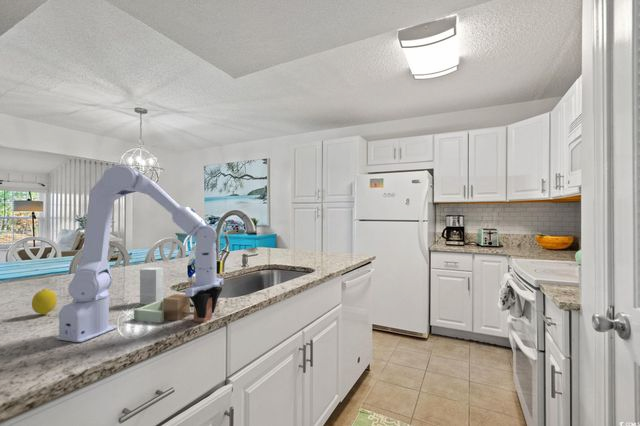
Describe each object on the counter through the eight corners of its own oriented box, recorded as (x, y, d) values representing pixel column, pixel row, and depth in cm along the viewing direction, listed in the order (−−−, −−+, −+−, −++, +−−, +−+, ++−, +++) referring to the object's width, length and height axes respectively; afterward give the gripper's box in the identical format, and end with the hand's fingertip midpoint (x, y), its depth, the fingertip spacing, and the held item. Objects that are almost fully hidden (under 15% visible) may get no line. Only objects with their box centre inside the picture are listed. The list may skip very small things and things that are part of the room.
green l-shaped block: (160, 322, 81) (160, 312, 81) (134, 320, 83) (134, 309, 83) (186, 311, 90) (186, 301, 90) (161, 309, 93) (161, 299, 93)
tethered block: (202, 323, 80) (202, 301, 80) (163, 319, 83) (163, 298, 84) (213, 317, 85) (213, 296, 85) (175, 313, 88) (175, 294, 88)
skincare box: (164, 301, 102) (164, 267, 102) (155, 305, 97) (156, 269, 97) (147, 300, 102) (147, 267, 102) (139, 304, 98) (139, 269, 98)
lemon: (41, 318, 85) (41, 291, 85) (26, 317, 86) (26, 290, 86) (61, 312, 90) (61, 287, 90) (47, 311, 91) (47, 286, 91)
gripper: (201, 273, 75) (201, 325, 75) (232, 264, 89) (232, 308, 89) (178, 271, 77) (178, 323, 76) (212, 263, 91) (212, 306, 90)
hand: (206, 315), depth 83 cm, fingers closed on tethered block, 3 cm apart
